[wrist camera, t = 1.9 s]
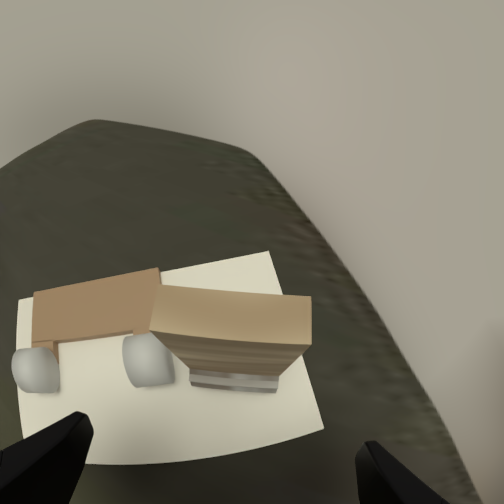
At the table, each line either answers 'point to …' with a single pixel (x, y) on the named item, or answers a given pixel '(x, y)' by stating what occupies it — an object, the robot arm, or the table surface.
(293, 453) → the table surface
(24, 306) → the board
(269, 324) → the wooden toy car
